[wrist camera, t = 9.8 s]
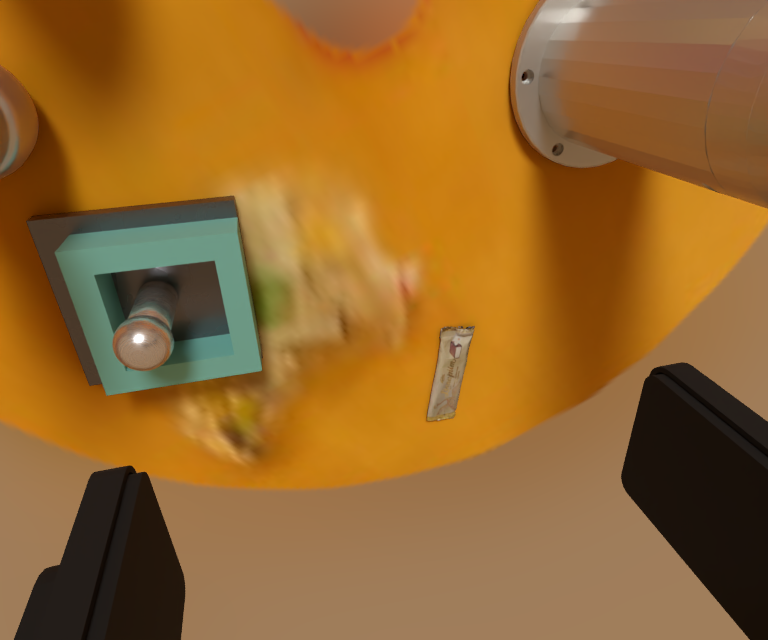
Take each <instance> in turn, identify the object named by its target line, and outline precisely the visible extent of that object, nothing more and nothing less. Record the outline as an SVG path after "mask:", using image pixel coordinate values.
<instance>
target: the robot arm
mask: <svg viewBox="0 0 768 640" xmlns="http://www.w3.org/2000/svg"><path fill="white" fill-rule="evenodd" d="M523 72H524V75H525V76H524V79H523V80H522V78H521V77H522V74H523ZM510 92H511V103H512V108H513V112H514V116H515V120H516V122H517V124H518V126H519V129H520V131H521V133H522V135H523V136H524V137H525V139H526V140H527V141H528V143H529V144H530V146H531V147H532V148H534V149H535V150H536V151H537V152H538V153H539V154H541V155H542V156H544V157H546V158H548V159H549V160H551V161H553V162H556V163H559V164H561V165H564V166H567V167H575V168H589V167H598V166H601V165H604V164H607V163H610V162H613V161H615V160H617V159H621V160H624V161H627V162H630V163H633V164H636V165H639V166H641V167H644V168H647V169H650V170H653V171H656V172H659V173H662V174H665V175H668V176H671V177H674V178H677V179H680V180H683V181H686V182H689V183H692V184H695V185H698V186H700V187H703V188H706V189H709V190H712V191H715V192H718V193H721V194H724V195H728V196H731V197H734V198H737V199H740V200H743V201H746V202H749V203H752V204H755V205H758V206H761V207H764V208H768V0H540V1H539V2H538V4H537V5H536V7H535V8H534V10H533V12H532V13H531V15H530V16H529V18H528V19H527V21H526V23H525V26H524V28H523V30H522V32H521V35H520V37H519V39H518V42H517V46H516V49H515V53H514V57H513V60H512V68H511V77H510ZM553 146H554V149H553ZM552 149H553V150H552ZM621 479H622V484H623V487H624V488H625V490H626V492H627V493H628V495H629V496H630V497H631V498H632V499H633V500H634V502H635V503H636V504H637V505H638V507H639V508H640V509H641V510H642V511H643V513H644V514H645V515H646V516H647V517H648V518H649V520H650V521H651V522H652V523H653V525H654V526H655V527H656V528H657V529H658V531H659V532H660V533H661V534H662V535H663V537H664V538H665V539H666V540H667V541H668V542H669V544H670V545H671V546H672V547H673V548H674V550H675V551H676V552H677V553H678V554H679V556H680V557H681V558H682V559H683V560H684V561H685V563H686V564H687V565H688V566H689V568H690V569H691V570H692V571H693V572H694V574H695V575H696V576H697V577H698V578H699V580H700V581H701V582H702V583H703V584H704V586H705V587H706V588H707V589H708V590H709V591H710V593H711V594H712V595H713V596H714V597H715V599H716V600H717V601H718V602H719V603H720V604H721V606H722V607H723V608H724V609H725V611H726V612H727V613H728V614H729V615H730V617H731V618H732V619H733V620H734V621H735V623H736V624H737V625H738V626H739V627H740V628H741V630H742V631H743V632H744V633H745V634H746V636H747V637H748V638H749V639H750V640H768V422H767V421H766V420H764V419H763V418H762V417H760V416H759V415H758V414H756V413H755V412H753V411H752V410H751V409H750V408H748V407H747V406H745V405H744V404H743V403H741V402H740V401H739V400H737V399H736V398H735V397H733V396H732V395H731V394H729V393H728V392H727V391H725V390H724V389H723V388H721V387H720V386H718V385H717V384H716V383H715V382H713V381H712V380H710V379H709V378H708V377H706V376H705V375H704V374H702V373H701V372H700V371H698V370H697V369H696V368H694V367H693V366H691V365H690V364H688V363H676V364H671V365H666V366H660V367H657V368H654V369H653V370H652V371H651V373H650V375H649V377H647V378H646V379H645V381H644V385H643V389H642V393H641V397H640V401H639V405H638V409H637V413H636V417H635V421H634V425H633V429H632V433H631V437H630V441H629V446H628V449H627V453H626V457H625V462H624V466H623V470H622V474H621ZM184 602H185V581H184V575H183V572H182V569H181V566H180V563H179V560H178V558H177V555H176V552H175V549H174V546H173V544H172V541H171V538H170V535H169V532H168V529H167V527H166V524H165V521H164V519H163V516H162V513H161V510H160V507H159V504H158V502H157V499H156V496H155V493H154V491H153V487H152V484H151V482H150V479H149V476H148V474H147V473H146V472H141V473H136V471H135V469H134V468H133V467H132V466H124V467H119V468H114V469H108V470H103V471H98V472H94V473H93V474H92V475H91V476H90V479H89V481H88V484H87V487H86V490H85V493H84V495H83V499H82V501H81V504H80V507H79V510H78V513H77V516H76V519H75V522H74V525H73V528H72V531H71V534H70V537H69V540H68V543H67V545H66V549H65V552H64V554H63V557H62V560H61V563H60V565H57V566H52V567H49V568H46V569H44V571H43V572H42V573H41V574H40V575H39V577H38V579H37V581H36V583H35V585H34V587H33V590H32V592H31V595H30V598H29V600H28V603H27V606H26V609H25V612H24V614H23V617H22V619H21V622H20V625H19V627H18V630H17V633H16V635H15V638H14V640H181V632H182V622H183V612H184Z"/></svg>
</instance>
